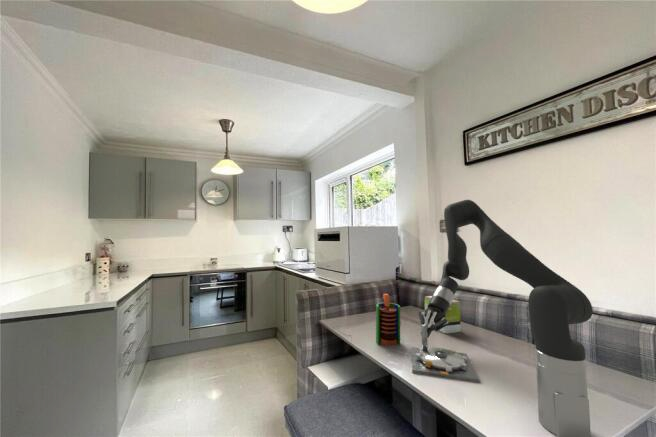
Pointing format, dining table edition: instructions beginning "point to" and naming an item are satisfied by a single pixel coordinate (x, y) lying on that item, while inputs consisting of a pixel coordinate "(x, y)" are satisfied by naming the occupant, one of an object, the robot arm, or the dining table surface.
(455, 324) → the tea box
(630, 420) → the dining table surface
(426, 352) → the sprocket
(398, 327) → the motor
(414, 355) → the base plate
